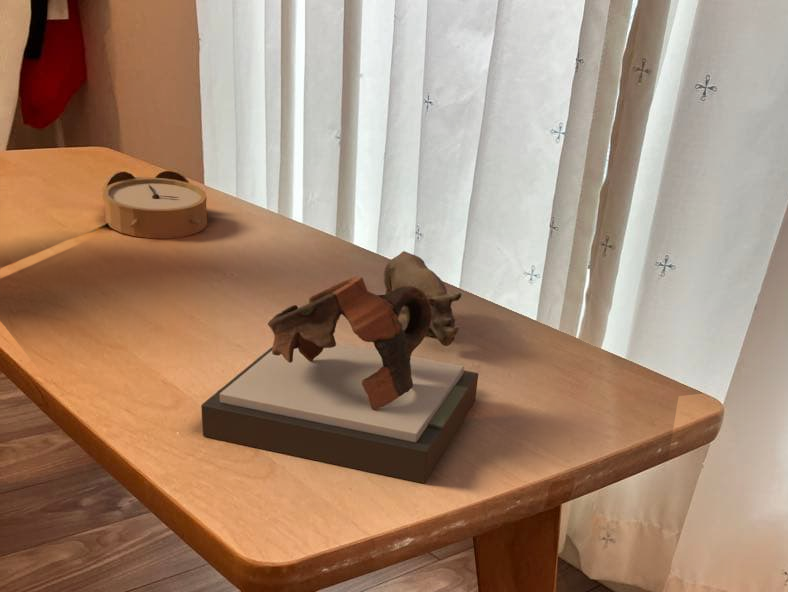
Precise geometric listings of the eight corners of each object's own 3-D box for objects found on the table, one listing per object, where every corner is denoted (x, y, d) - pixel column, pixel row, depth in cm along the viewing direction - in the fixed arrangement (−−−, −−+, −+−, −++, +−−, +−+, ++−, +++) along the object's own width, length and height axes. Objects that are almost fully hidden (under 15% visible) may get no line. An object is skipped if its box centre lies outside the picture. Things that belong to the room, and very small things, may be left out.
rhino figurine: (428, 365, 79) (434, 294, 75) (373, 308, 89) (376, 244, 86) (473, 361, 80) (481, 291, 77) (413, 306, 91) (418, 242, 87)
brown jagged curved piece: (349, 433, 61) (291, 315, 59) (287, 437, 69) (234, 333, 66) (480, 352, 66) (433, 240, 64) (408, 364, 74) (363, 265, 72)
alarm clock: (112, 213, 99) (89, 156, 109) (115, 257, 103) (93, 197, 112) (218, 210, 103) (187, 155, 113) (217, 252, 107) (187, 195, 116)
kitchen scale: (202, 436, 65) (200, 395, 63) (283, 364, 76) (283, 328, 75) (424, 483, 62) (428, 441, 60) (475, 401, 73) (479, 364, 71)
